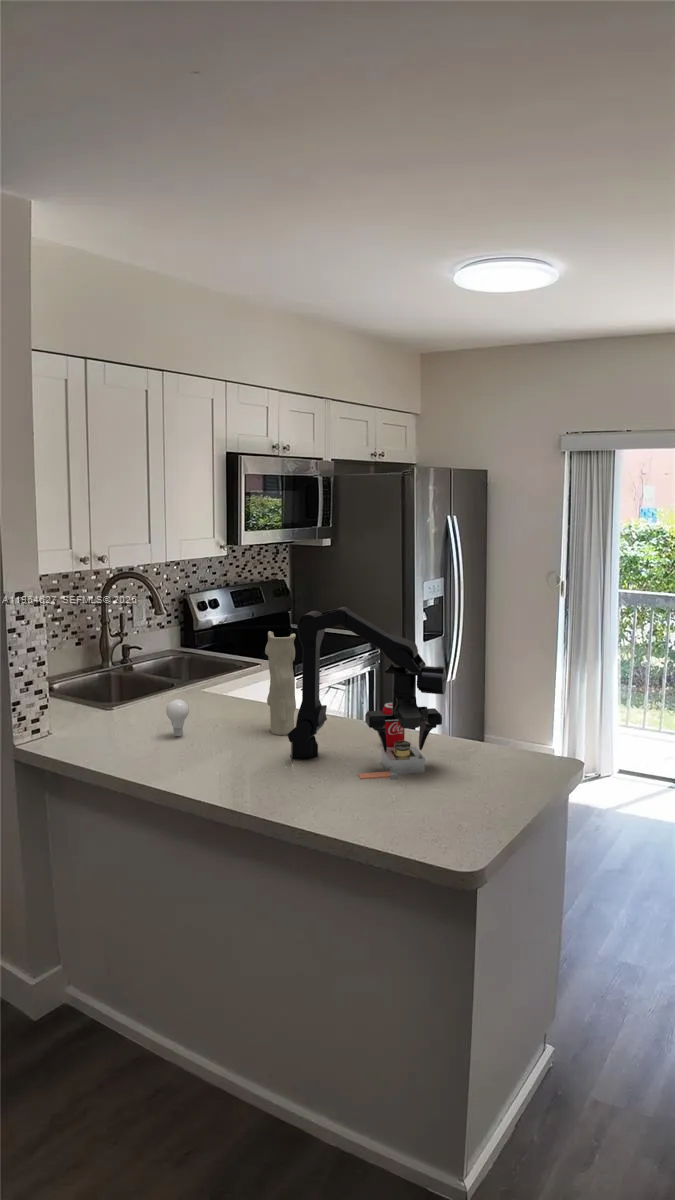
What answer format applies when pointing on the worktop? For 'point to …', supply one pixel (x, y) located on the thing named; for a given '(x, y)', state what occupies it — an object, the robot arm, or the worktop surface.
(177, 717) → the lightbulb
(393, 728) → the beverage can
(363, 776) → the lever
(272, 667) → the vase
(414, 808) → the worktop surface
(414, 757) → the block
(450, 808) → the worktop surface
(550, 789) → the worktop surface
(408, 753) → the brass cylinder
